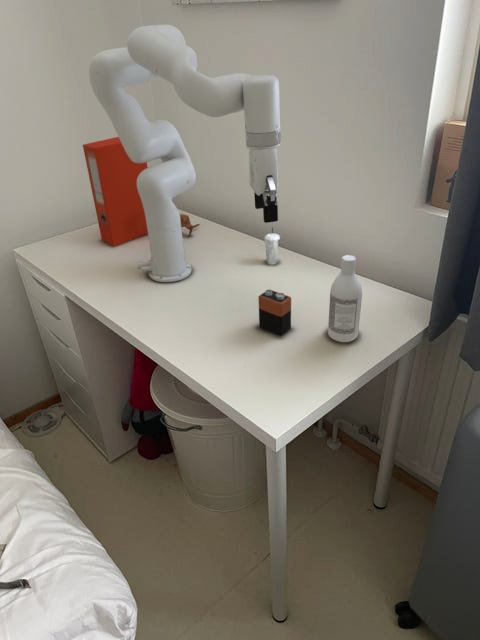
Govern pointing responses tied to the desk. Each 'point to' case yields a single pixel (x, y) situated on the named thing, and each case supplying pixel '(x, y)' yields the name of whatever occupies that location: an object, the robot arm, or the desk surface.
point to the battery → (275, 312)
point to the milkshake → (272, 247)
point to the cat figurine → (187, 223)
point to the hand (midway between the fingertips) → (266, 214)
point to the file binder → (115, 191)
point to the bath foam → (345, 303)
